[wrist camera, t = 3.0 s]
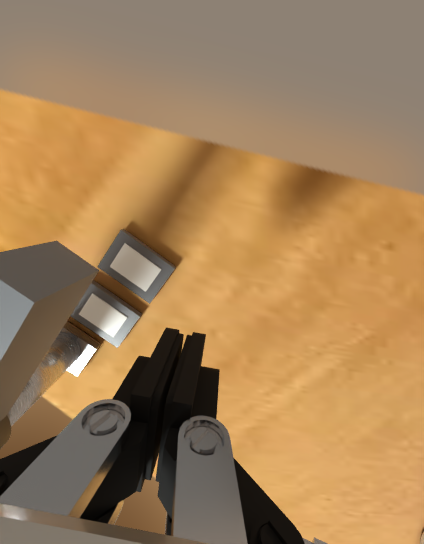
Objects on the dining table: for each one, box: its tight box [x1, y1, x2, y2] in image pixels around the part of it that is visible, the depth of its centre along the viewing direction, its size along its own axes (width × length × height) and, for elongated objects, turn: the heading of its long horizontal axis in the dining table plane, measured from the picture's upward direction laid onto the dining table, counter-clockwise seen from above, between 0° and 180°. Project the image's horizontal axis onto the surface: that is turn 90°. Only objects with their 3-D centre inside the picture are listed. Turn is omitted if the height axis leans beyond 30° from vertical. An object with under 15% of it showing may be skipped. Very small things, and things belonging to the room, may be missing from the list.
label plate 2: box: [71, 280, 142, 348], centre depth 19 cm, size 4×3×1 cm
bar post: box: [7, 321, 101, 426], centre depth 17 cm, size 4×3×7 cm
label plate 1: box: [98, 229, 176, 303], centre depth 18 cm, size 4×3×1 cm
